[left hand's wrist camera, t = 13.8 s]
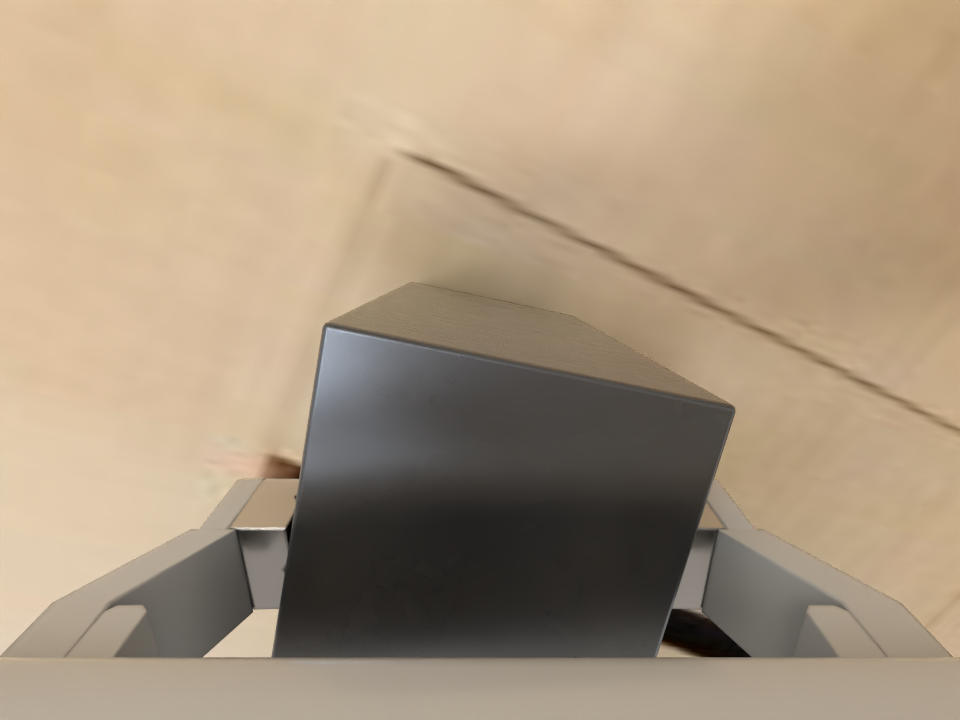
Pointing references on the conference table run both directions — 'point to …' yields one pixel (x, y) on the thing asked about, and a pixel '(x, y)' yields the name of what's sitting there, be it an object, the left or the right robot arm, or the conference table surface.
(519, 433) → the box
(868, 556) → the conference table surface
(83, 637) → the left robot arm
